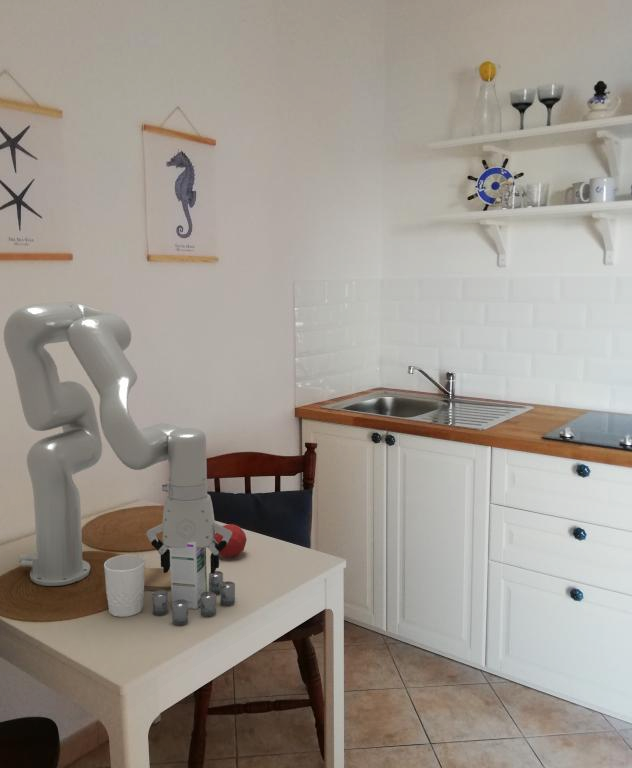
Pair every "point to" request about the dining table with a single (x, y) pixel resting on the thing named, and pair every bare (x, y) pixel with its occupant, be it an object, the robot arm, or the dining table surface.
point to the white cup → (125, 584)
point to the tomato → (232, 541)
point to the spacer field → (206, 600)
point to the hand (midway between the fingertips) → (190, 570)
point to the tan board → (157, 579)
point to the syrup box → (188, 574)
